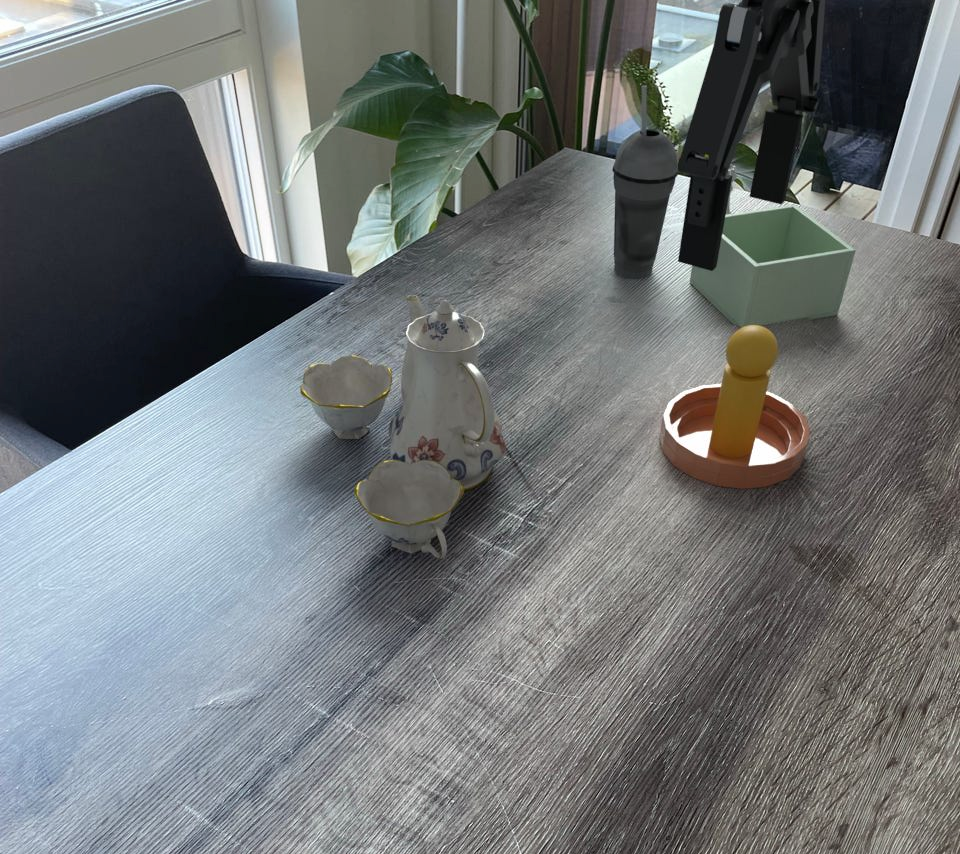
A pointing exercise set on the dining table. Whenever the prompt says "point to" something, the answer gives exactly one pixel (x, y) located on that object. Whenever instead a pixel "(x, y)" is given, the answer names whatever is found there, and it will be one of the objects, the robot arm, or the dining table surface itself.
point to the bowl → (764, 466)
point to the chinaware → (417, 424)
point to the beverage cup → (641, 197)
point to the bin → (776, 268)
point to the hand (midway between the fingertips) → (733, 230)
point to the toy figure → (743, 390)
